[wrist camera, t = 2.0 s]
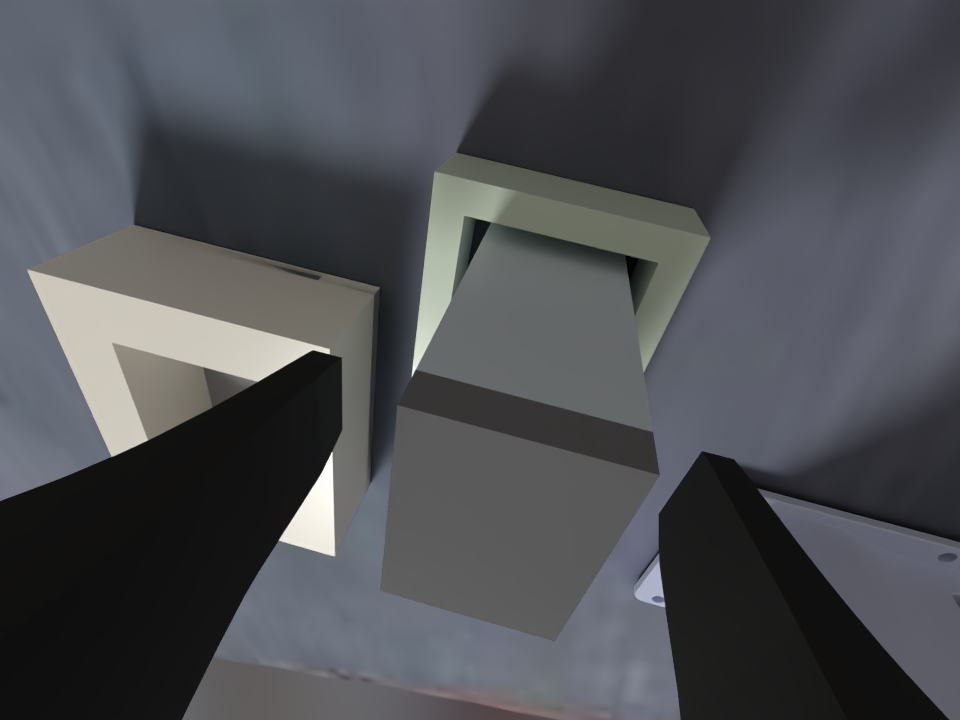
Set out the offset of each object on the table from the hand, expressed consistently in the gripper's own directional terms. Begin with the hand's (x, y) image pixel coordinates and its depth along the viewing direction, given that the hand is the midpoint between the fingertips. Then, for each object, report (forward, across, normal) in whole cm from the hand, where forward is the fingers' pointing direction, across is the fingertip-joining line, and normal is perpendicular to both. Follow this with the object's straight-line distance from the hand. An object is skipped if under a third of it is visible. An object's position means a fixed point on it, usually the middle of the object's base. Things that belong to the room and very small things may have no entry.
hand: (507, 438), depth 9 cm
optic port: (+6, +9, +6) cm, 12 cm away
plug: (+6, 0, 0) cm, 6 cm away
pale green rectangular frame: (+6, 0, 0) cm, 6 cm away
